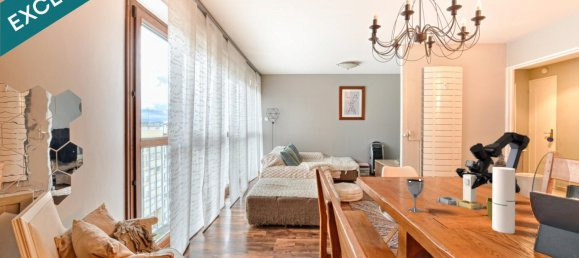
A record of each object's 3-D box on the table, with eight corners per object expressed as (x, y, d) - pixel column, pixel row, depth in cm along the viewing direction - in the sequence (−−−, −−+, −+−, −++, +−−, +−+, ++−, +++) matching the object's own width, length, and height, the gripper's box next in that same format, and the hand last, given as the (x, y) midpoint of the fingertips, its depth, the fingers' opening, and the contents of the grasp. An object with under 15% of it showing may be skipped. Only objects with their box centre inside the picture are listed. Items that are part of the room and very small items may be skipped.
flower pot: (511, 226, 113) (511, 204, 113) (486, 221, 118) (486, 201, 118) (510, 220, 120) (510, 200, 120) (486, 216, 125) (486, 197, 125)
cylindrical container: (519, 234, 104) (519, 169, 104) (498, 232, 106) (498, 169, 105) (508, 227, 111) (508, 167, 111) (488, 226, 113) (489, 166, 112)
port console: (443, 200, 153) (443, 194, 153) (485, 208, 138) (485, 202, 138) (434, 203, 145) (434, 198, 145) (478, 212, 130) (478, 206, 130)
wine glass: (420, 208, 138) (420, 178, 138) (426, 213, 130) (426, 182, 130) (404, 207, 139) (404, 178, 139) (409, 212, 131) (409, 181, 131)
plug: (468, 199, 141) (468, 174, 141) (476, 201, 137) (476, 175, 137) (462, 199, 139) (462, 174, 139) (469, 201, 135) (470, 176, 135)
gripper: (457, 153, 148) (443, 174, 144) (494, 156, 131) (478, 181, 127) (467, 166, 151) (453, 187, 147) (504, 171, 134) (489, 196, 130)
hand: (467, 187), depth 138 cm, fingers closed on plug, 4 cm apart
